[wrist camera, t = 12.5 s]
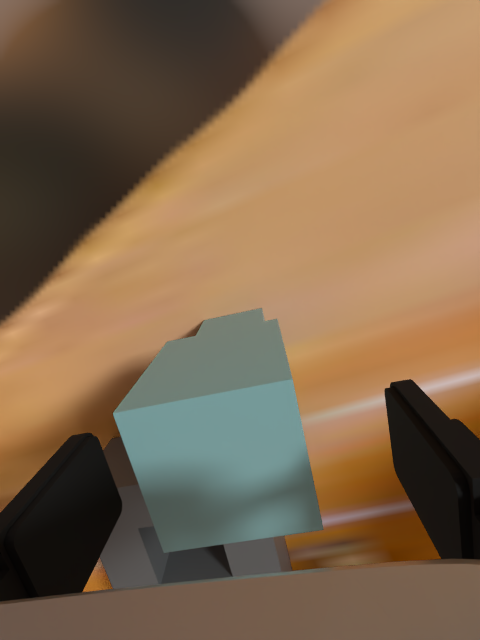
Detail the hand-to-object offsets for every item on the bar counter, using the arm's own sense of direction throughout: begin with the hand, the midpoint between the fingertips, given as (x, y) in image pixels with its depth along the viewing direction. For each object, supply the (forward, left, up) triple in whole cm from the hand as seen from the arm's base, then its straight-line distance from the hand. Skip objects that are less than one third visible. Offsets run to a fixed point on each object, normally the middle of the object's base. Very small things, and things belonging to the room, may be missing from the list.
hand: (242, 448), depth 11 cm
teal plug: (+1, 0, -11) cm, 11 cm away
